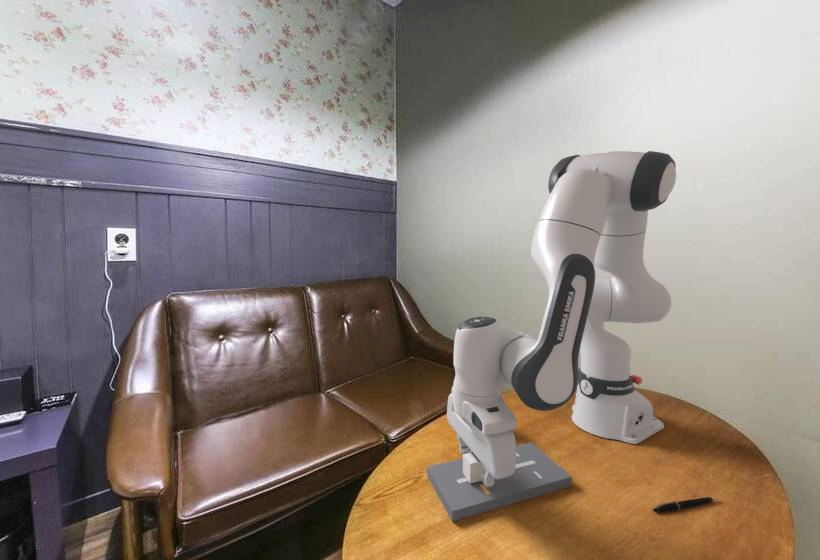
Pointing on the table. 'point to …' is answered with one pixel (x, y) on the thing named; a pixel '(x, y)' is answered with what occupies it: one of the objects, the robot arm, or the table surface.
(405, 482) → the table surface
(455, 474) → the console
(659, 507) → the fountain pen
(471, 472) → the block
